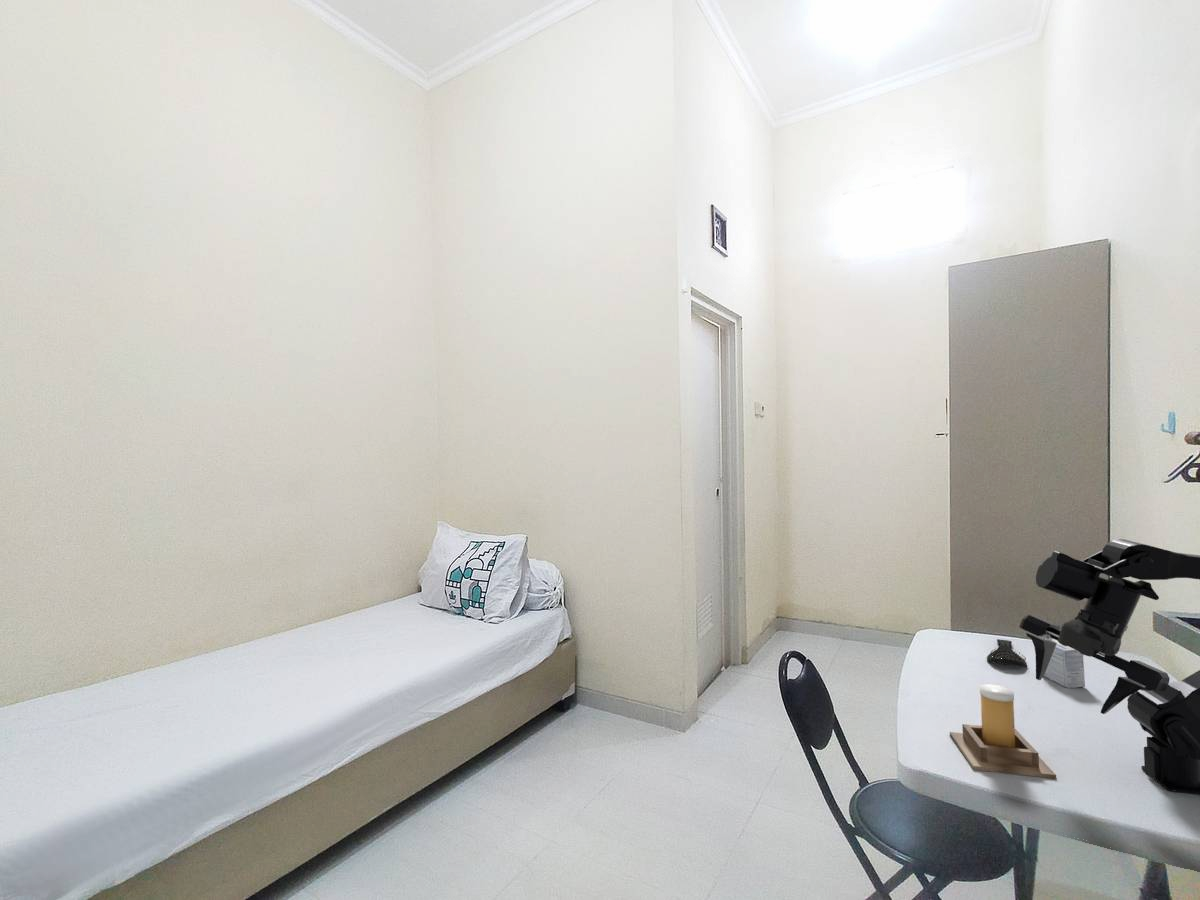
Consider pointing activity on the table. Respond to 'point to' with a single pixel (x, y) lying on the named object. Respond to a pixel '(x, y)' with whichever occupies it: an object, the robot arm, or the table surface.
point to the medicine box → (1066, 667)
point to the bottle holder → (1000, 754)
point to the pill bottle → (997, 716)
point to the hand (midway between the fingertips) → (1069, 695)
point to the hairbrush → (1006, 655)
